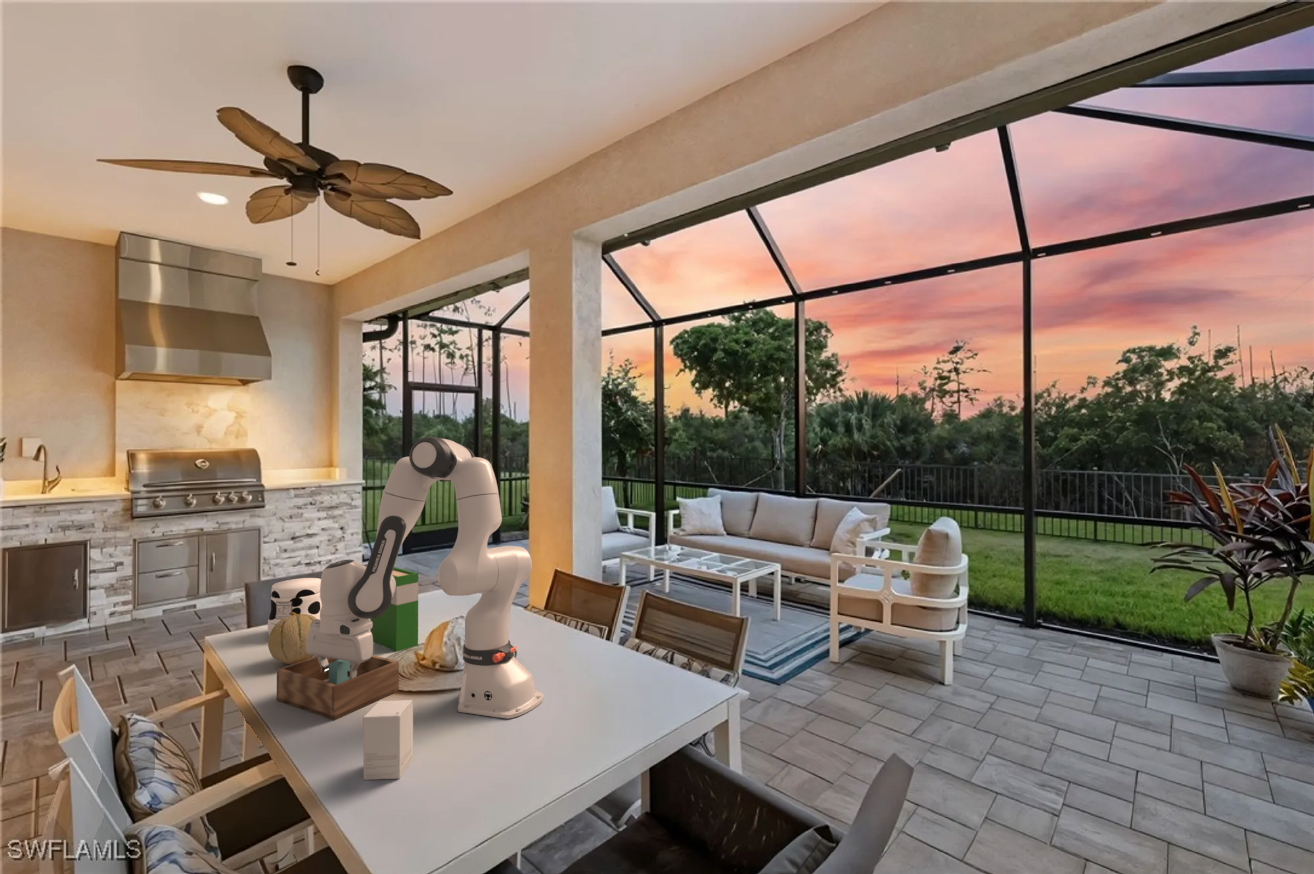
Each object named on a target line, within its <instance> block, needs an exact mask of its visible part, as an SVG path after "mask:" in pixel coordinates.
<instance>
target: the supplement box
mask: <svg viewBox="0 0 1314 874" xmlns="http://www.w3.org/2000/svg"><path fill="white" fill-rule="evenodd" d="M413 701H414V700H413V699H409V700H406V699H405V700H378V701H377V702H376V704H375V705H374V706H373V707H371V709H369V711H368V712H367V713H366V714H365V715H364V716H363V717H362V724H363V725H362V726H363V727H362V729H363V732H362V733H363V739H362V740H363V741H362V742H363V743H362V744H363V758H362V759H363V780H364V781H368V780H372V781H373V780H392V779H393V780H394V779H395V780H396V779H397V780H398V779H401V777H402V776H403V775H404V773H405V772H406V770H407V769H408V768H409V766H410V765H411V763H412V762H413V760H414V702H413Z"/></svg>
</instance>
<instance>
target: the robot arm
mask: <svg viewBox="0 0 1314 874" xmlns="http://www.w3.org/2000/svg"><path fill="white" fill-rule="evenodd" d="M437 481H439V482H442V483H443V482H451V483H452V484H453V486H454V491H455V499H456V507H457V510H456V511H457V521H458V522H457V523H458V526H457V527H458V530H457V537H456V539H455V543H454V545H453V547H452V549H451V551H450V552H449V553H448V555H446V557H444V559H443V560H442V562H441V563H440V565H439V567H438V570H437V581H438V585H439V588H440V589H441V590H442V591H443V592H444V593H445V594H446V595H448V596H454V597H455V596H457V597H460V596H461V597H462V596H463V597H465V596H471V595H475V594H476V595H477V594H480V593H482V594H481V596H480V598H479V600H478V601H477V602H476V603H475V604H474V605H473V606H472V607H470V609H469V610H468V611H467V613H466V615H465V618H464V644H463V646H462V647H463V648H462V660H463V661H464V665H463V671H462V678H461V687H460V690H459V691H460V693H459V696H458V697H457V701H458V702H457V703H458V705H457V712H459V713H464V714H465V713H467V714H474V715H478V716H479V715H480V716H486V717H492V718H499V719H500V718H501V719H509V720H510V719H513V718H516V717H519V716H522V715H524V714H526V713H528V712H531V710H533V709H535V708H536V707H537V706H539V705H540V704H542V702H543V700H544V698H545V696H544V693H543V692H541V691H539V690H537V689H535V688H536V687H535V681H534V677H533V675H532V674H531V672H530V671H529V670H528V669H527V668H525V667H524V665H523V664H521V662H520V661H519V660H518V659H517V658H516V657H515V654H514V652H516V651H517V648H518V647H517V645H516V646H513V647H512V644H511V641H510V639H509V632H510V631H509V628H510V627H509V625H510V613H511V612H510V611H511V607H512V604H513V601H514V599H515V597H516V595H517V593H518V591H519V589H520V587H522V585H523V584H524V582H525V581H526V580H527V579H528V578H529V577H530V575H531V572H532V568H533V562H532V561H533V560H532V556H531V555H530V553H529V551H528V550H527V549H526V548H524V547H523V546H519V545H517V546H516V545H503V546H497V547H491V548H490V547H489V548H488V542H489V538H490V536H491V535H492V534H493V533H494V532H496V531H497V530H498V529H499V527H500V526H501V524H502V521H503V516H502V509H501V503H500V501H501V500H500V495H499V494H500V493H499V488H498V487H499V486H498V483H497V478H496V475H495V472H494V469H493V465H492V464H491V462H490V461H489V460H488V459H485V458H483V457H477V456H475V454H474V452H473V451H472V450H471V449H470V448H469V447H467V446H466V445H463V444H461V443H458V442H455V441H454V440H450V439H447V438H441V437H438V436H426V437H423V438H420V439H419V440H417V441H415V443H414V444H413V445H412V447H411V448H410V450H409V455H408V456H405V457H401V458H400V459H399V460H397V461H396V463H395V465H394V467H393V468H392V470H391V472H390V474H389V477H388V478H387V481H386V484H385V486H384V489H383V492H382V496H381V500H380V503H379V510H378V520H377V530H376V533H375V534H376V535H375V540H374V543H373V547H372V549H371V553H370V555H369V559H368V562H367V564H366V566H365V565H363V564H361V563H359V562H357V561H356V560H354V559H345V560H344V559H343V560H339V561H335V562H332V563H331V564H328V565H327V566H326V567H325V568H324V569H323V570H322V573H321V577H320V579H321V584H320V599H321V602H322V607H321V610H320V620H319V619H315V620H314V621H312V622H311V624H310V630H309V632H308V637H307V646H306V650H307V652H308V654H309V655H313V656H314V657H315V656H318V657H317V660H318V662H319V664H320V666H321V672H322V673H327V672H329V664H328V660H327V658H332V659H338V660H344V661H350V665H352V666H351V669H350V670H348V671H347V674H348V675H347V677H349V678H354V677H356V676H357V669H358V667H359V665H360V663H363V662H365V661H367V660H369V659H370V658H371V657H372V655H374V642H373V636H372V633H371V631H370V629H371V628H372V626H373V623H372V621H371V620H370V619H373V618H376V617H379V616H381V615H382V614H384V613H385V612H386V611H387V609H388V608H389V606H390V604H391V600H392V597H393V594H394V592H395V589H396V580H395V578H394V576H393V575H392V571H393V568H394V567H395V565H396V561H397V558H398V555H399V552H400V549H401V547H402V545H403V543H404V541H405V539H406V537H408V535H409V534H410V532H411V531H412V530H413V528H414V527H415V525H416V523H417V521H418V519H419V517H420V516H421V513H422V512H423V509H424V507H425V504H426V500H427V496H428V493H429V490H430V488H431V486H432V485H433V484H434V483H436V482H437Z"/></svg>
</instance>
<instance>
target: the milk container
mask: <svg viewBox="0 0 1314 874" xmlns="http://www.w3.org/2000/svg"><path fill="white" fill-rule="evenodd" d="M320 584H321V578H317V577H301V578H292V579H287V580H283V581H279V582H275V583H274V584H272V585H271V592H270V593H271V594H270V595H271V596H270V597H271V598H270V613H269V616H268V619H267V630H268V633H269V634H270V632H271V631H272V629H273V628H274V626H275V625H276V624H277V623H278V622H279V621H281V620H282V619H284V618H286V617H289V616H292V615H289V614H290V612H294V613H296V614H308V615H312V616H314V617H315V618H316V619H319V620H320V610H321V607H322V602H321V599H320Z"/></svg>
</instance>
